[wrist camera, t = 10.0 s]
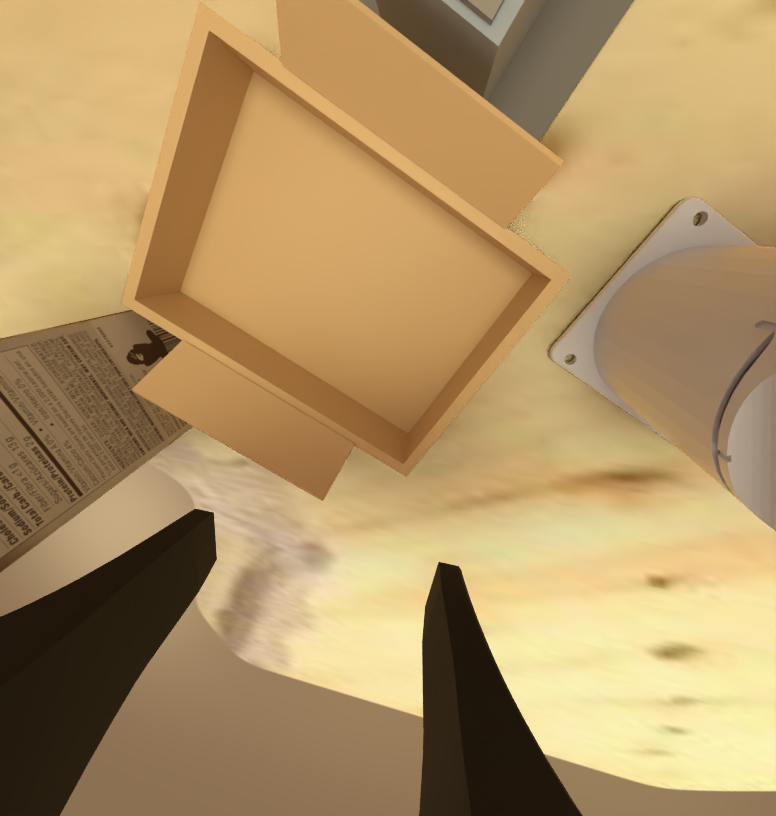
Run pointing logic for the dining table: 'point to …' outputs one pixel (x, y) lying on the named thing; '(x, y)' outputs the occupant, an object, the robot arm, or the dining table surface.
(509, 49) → the block
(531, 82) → the mat
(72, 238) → the dining table surface
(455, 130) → the carton
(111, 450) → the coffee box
